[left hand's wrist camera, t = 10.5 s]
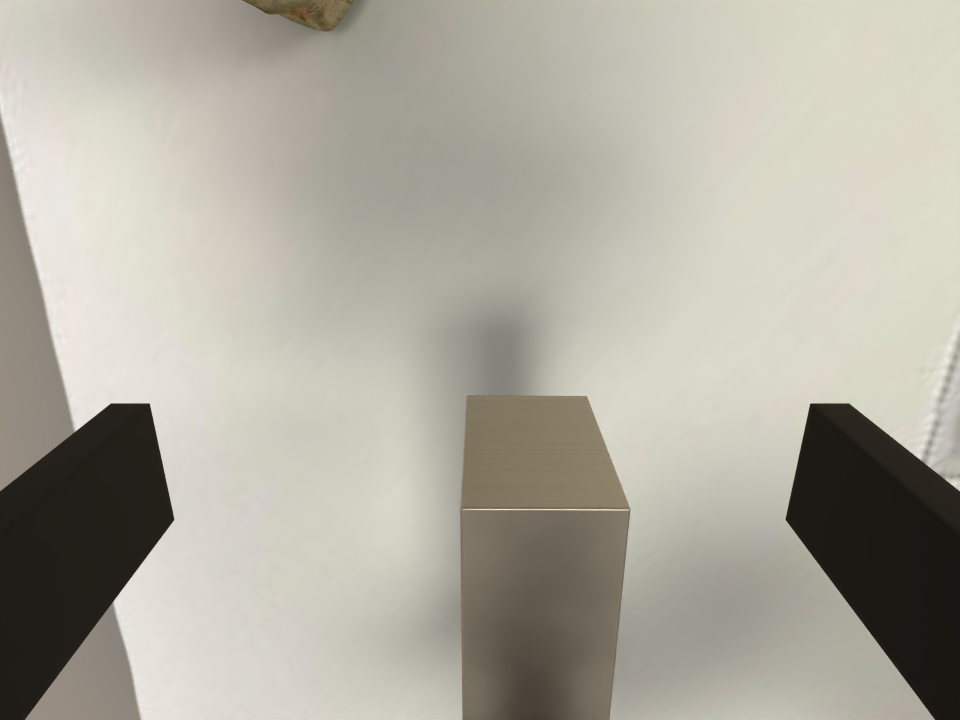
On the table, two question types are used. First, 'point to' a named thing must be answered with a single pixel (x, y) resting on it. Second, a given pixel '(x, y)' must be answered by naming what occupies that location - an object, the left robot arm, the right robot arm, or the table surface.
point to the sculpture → (307, 11)
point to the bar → (539, 560)
